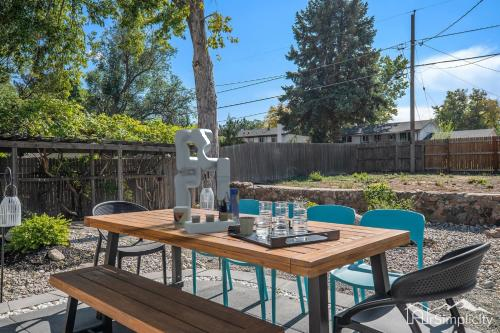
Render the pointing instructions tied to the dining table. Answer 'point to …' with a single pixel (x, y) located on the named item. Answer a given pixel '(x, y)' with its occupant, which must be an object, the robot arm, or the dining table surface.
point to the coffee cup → (180, 216)
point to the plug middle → (210, 218)
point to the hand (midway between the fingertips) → (223, 212)
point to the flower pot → (246, 225)
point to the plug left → (195, 219)
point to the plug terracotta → (223, 216)
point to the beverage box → (232, 205)
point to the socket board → (208, 226)
